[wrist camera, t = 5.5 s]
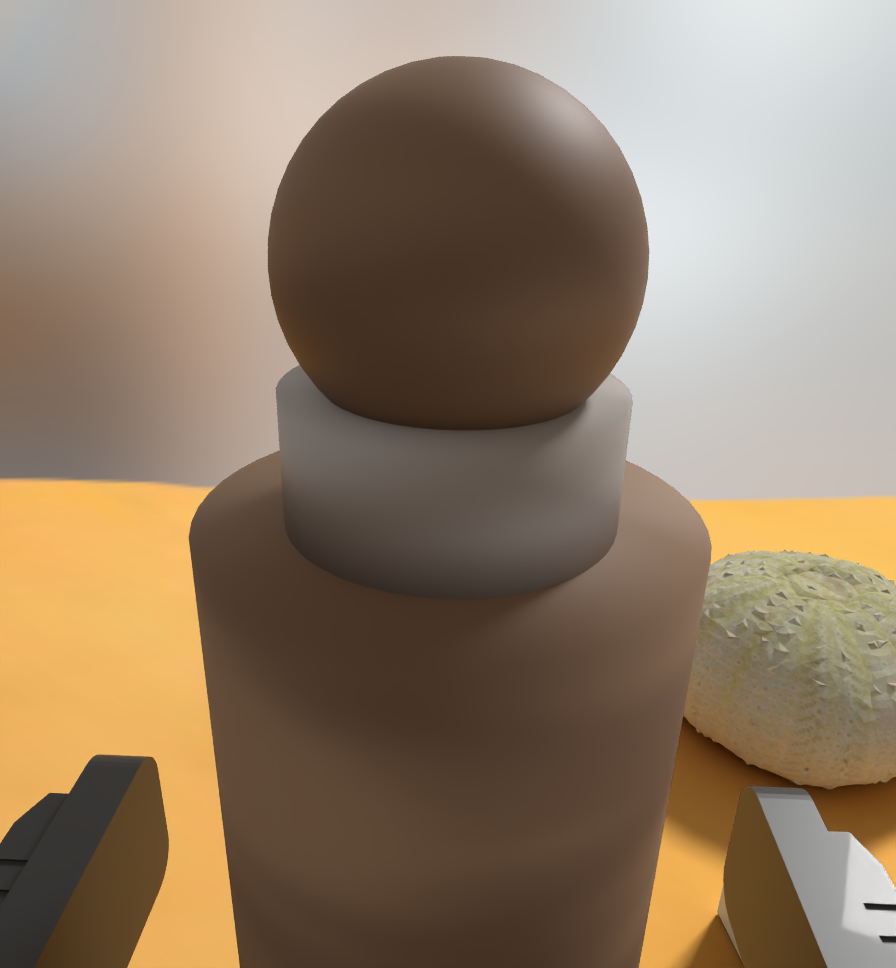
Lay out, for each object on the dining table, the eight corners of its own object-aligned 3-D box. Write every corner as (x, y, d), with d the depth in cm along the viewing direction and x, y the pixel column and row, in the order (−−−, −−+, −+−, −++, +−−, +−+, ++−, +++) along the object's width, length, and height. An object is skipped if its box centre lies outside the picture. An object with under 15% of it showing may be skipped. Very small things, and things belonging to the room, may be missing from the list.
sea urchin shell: (1073, 747, 23) (938, 579, 20) (839, 905, 24) (682, 772, 21) (878, 577, 31) (763, 441, 28) (714, 704, 33) (589, 588, 30)
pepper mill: (277, 1546, 11) (27, 2, 4) (289, 1148, 15) (186, 64, 8) (611, 1476, 11) (974, 41, 4) (534, 1113, 16) (650, 79, 8)
